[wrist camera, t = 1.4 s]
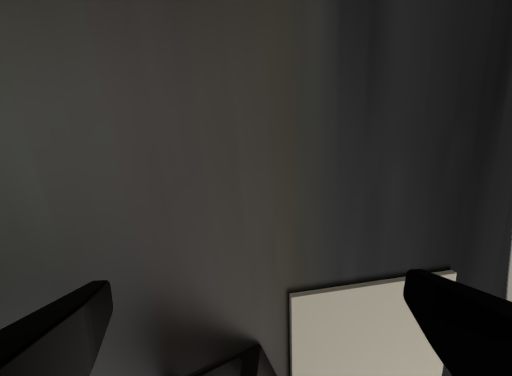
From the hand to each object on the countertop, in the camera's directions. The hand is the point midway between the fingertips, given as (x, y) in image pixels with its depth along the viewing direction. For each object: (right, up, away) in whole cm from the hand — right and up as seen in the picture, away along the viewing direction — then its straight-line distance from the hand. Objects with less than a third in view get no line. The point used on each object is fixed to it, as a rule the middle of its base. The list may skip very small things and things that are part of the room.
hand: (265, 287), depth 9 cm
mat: (+11, -14, +19) cm, 26 cm away
